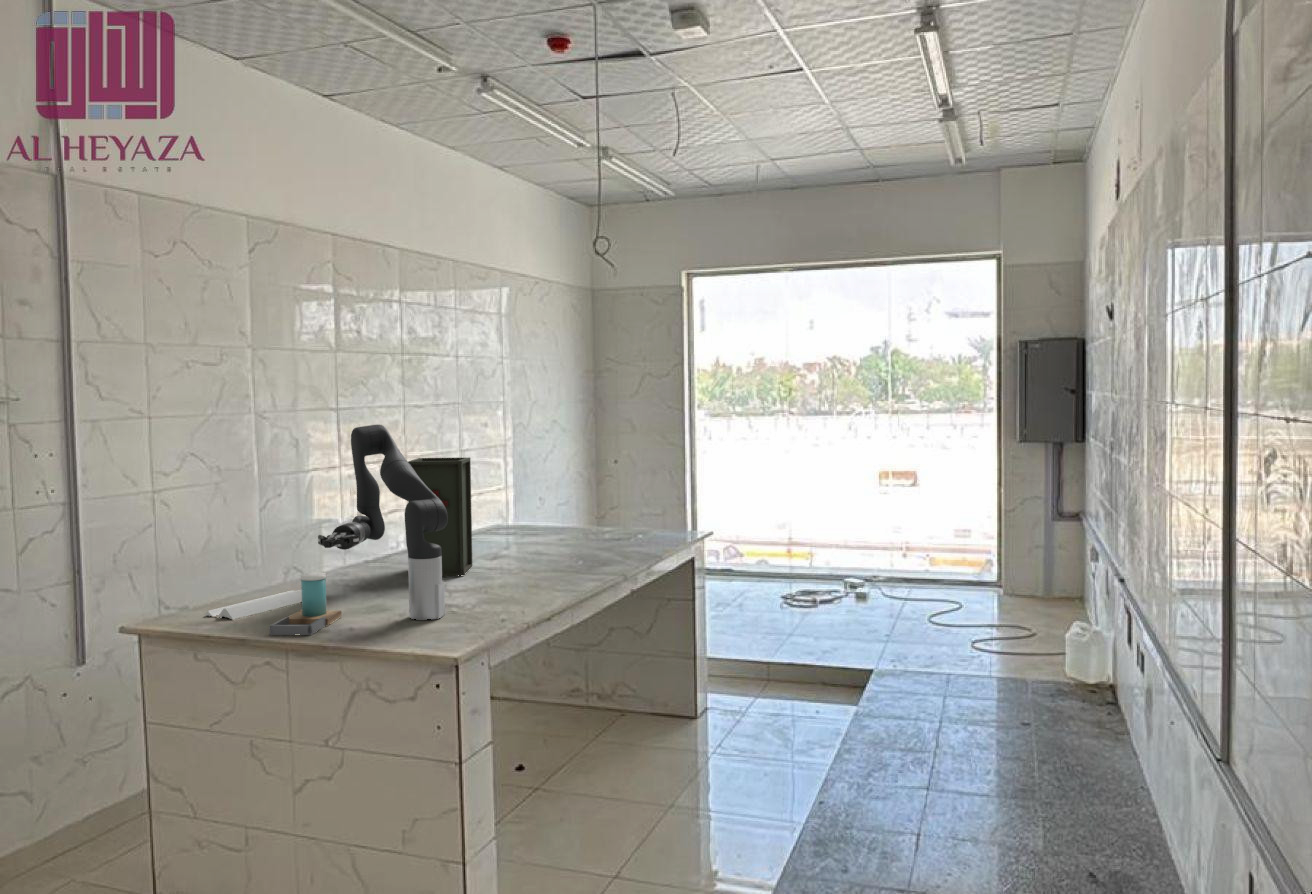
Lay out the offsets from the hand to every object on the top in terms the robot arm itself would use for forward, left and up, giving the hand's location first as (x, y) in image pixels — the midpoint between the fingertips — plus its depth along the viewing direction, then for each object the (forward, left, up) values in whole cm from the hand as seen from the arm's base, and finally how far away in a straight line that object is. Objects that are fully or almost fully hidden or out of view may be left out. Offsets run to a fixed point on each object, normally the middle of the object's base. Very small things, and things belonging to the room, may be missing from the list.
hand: (327, 544), depth 273 cm
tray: (0, +21, -20) cm, 29 cm away
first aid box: (-16, -63, -20) cm, 68 cm away
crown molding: (+22, -7, -21) cm, 31 cm away
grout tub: (0, +10, -18) cm, 21 cm away
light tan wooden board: (0, +11, -20) cm, 23 cm away
